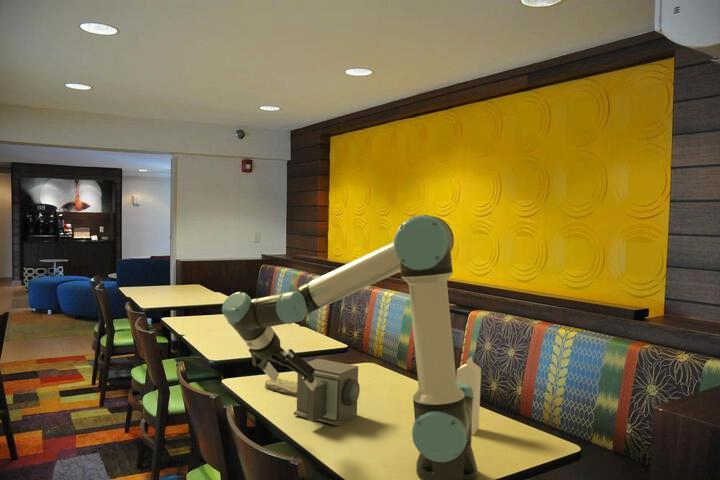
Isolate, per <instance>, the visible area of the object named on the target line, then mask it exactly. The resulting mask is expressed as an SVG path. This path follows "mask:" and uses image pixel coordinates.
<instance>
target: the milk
mask: <svg viewBox="0 0 720 480" xmlns="http://www.w3.org/2000/svg"><path fill="white" fill-rule="evenodd" d="M481 375H482V367H480V366H479V365H477V364H476V363H475V362H474V361H473V356H470V357H469V358H468V359H467V360H466V363H464V364H462V365H461V366H460V367H458V368H457V369H456V382H460V383H464V384H467V385H469V386H471V387H472V389H473V396H474V399H473V410H472V436H474V435H475V434H476V433H477V431H478V430H479V429H480V428H479V427H480V407H481V405H480V404H481V383H482V380H481V379H482V376H481Z"/></svg>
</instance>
